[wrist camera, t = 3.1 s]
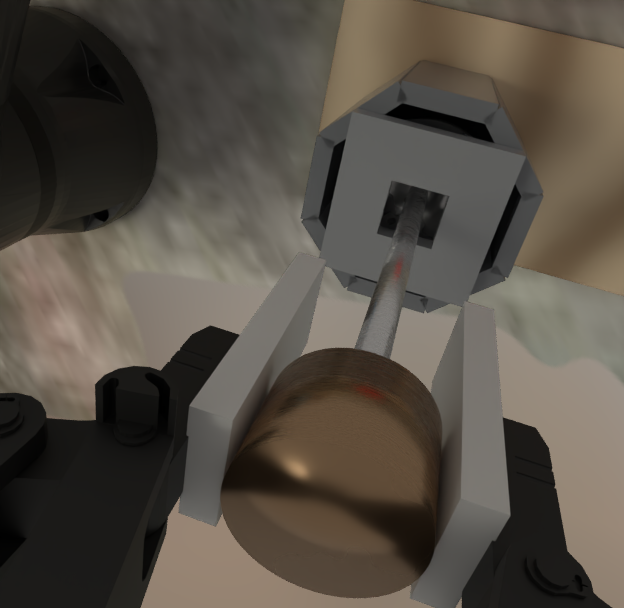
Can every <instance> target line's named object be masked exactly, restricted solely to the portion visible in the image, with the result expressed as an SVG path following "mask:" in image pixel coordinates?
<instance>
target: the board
mask: <svg viewBox="0 0 624 608" xmlns="http://www.w3.org/2000/svg"><path fill="white" fill-rule="evenodd" d="M422 60H427V61H431V62H435V63H439V64H443V65H448V66H452V67H456V68H460V69H464V70H468V71H472V72H476V73H481V74H485V75H489V76H490V78H493V80H494V82H495V85H496V87H497V89H498V91H499V93H500V95H501V97H502V99H503V101H504V103H505V105H506V107H507V109H508V111H509V113H510V116H511V118H512V120H513V122H514V124H515V126H516V128H517V130H518V132H519V134H520V136H521V138H522V141H523V143H524V146H525V148H526V150H527V153H528V155H529V158H530V160H531V163H532V165H533V167H534V170H535V172H536V175H537V177H538V180H539V182H540V184H541V187H542V189H543V196H544V197H543V199H542V201H541V204H540V206H539V208H538V211H537V213H536V215H535V217H534V220H533V222H532V224H531V226H530V229H529V231H528V233H527V236H526V238H525V240H524V242H523V245H522V247H521V249H520V252H519V254H518V256H517V258H516V261H515V263H514V265H516V266H520V267H523V268H527V269H530V270H534V271H537V272H541V273H544V274H548V275H551V276H555V277H558V278H562V279H565V280H569V281H572V282H576V283H580V284H583V285H587V286H590V287H594V288H597V289H601V290H604V291H608V292H611V293H615V294H618V295H622V296H624V48H620V47H616V46H612V45H607V44H603V43H598V42H594V41H590V40H585V39H581V38H577V37H572V36H568V35H563V34H559V33H555V32H550V31H546V30H541V29H537V28H533V27H528V26H524V25H520V24H515V23H511V22H506V21H502V20H498V19H493V18H489V17H484V16H480V15H476V14H471V13H467V12H463V11H458V10H454V9H449V8H445V7H441V6H436V5H432V4H427V3H423V2H419V1H414V0H345V1H344V6H343V11H342V16H341V21H340V26H339V31H338V36H337V41H336V47H335V52H334V57H333V62H332V67H331V72H330V77H329V82H328V87H327V92H326V97H325V102H324V107H323V113H322V118H321V123H320V128H319V132H321V131H322V130H323V129H324V128H326V127H327V126H328V125H329V124H331V123H332V122H333V121H335V120H336V119H337V118H338V117H340V116H341V115H342V114H343V113H345V112H346V111H347V110H348V109H350V108H351V107H352V106H354V105H355V104H356V103H357V102H359V101H360V100H361V99H362V98H364V97H365V96H367V95H368V94H370V93H371V92H373V91H374V90H376V89H377V88H379V87H380V86H382V85H383V84H385V83H386V82H388V81H390V80H391V79H393V78H394V77H396V76H397V75H399V74H400V73H402V72H403V71H405V70H406V69H408V68H409V67H411V66H412V65H414V64H415V63H417V62H418V61H422ZM318 135H319V133H318Z"/></svg>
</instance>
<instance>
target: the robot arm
mask: <svg viewBox="0 0 624 608" xmlns="http://www.w3.org/2000/svg"><path fill="white" fill-rule="evenodd" d="M29 4H30V0H0V251H1V250H3V249H5V248H7V247H9V246H10V245H12V244H14V243H16V242H18V241H20V240H22V239H24V238H26V237H28V236H31V235H46V234H61V233H75V232H85V231H90V230H94V229H97V228H100V227H103V226H105V225H107V224H109V223H111V222H112V221H114V220H116V219H117V218H119V217H121V216H123V215H124V214H126V213H127V212H129V211H130V210H131V209H132V208H134V207H135V206H136V205H137V204H138V203H139V201H140V200H141V199H142V197H143V196H144V194H145V193H146V191H147V189H148V187H149V185H150V182H151V180H152V177H153V174H154V170H155V165H156V157H157V135H156V127H155V122H154V117H153V113H152V109H151V106H150V103H149V100H148V97H147V95H146V92H145V90H144V88H143V86H142V84H141V82H140V80H139V78H138V76H137V74H136V73H135V71H134V69H133V68H132V66H131V65H130V63H129V62H128V60H127V59H126V58H125V57H124V55H123V54H122V53H121V51H120V50H119V49H118V48H117V47H116V46H115V45H114V44H113V43H112V42H111V41H110V40H109V39H108V38H107V37H106V36H105V35H104V34H103V33H102V32H100V31H99V30H98V29H96V28H95V27H94V26H92V25H91V24H89V23H88V22H86V21H84V20H83V19H81V18H79V17H77V16H75V15H73V14H70V13H68V12H65V11H62V10H59V9H55V8H50V7H37V6H29ZM325 263H326V260H324V259H321V258H318V257H314V256H311V255H307V254H304V253H301V252H299V253H298V255H297V256H296V257H295V259H294V260H293V261H292V263H291V264H290V266H289V267H288V268H287V270H286V271H285V273H284V274H283V275H282V277H281V278H280V280H279V281H278V282H277V284H276V285H275V287H274V288H273V289H272V291H271V292H270V294H269V295H268V296H267V298H266V299H265V301H264V302H263V304H262V305H261V306H260V308H259V309H258V310H257V312H256V313H255V315H254V316H253V317H252V319H251V320H250V322H249V323H248V325H247V326H246V327H245V329H244V330H243V331H242V333H241V334H240V335H238V334H235V333H232V332H229V331H226V330H223V329H220V328H217V327H214V326H209V327H206V328H204V329H202V330H200V331H198V332H196V333H194V334H192V335H191V336H190V338H189V339H188V340H187V341H186V342H185V343H184V344H183V346H182V347H181V348H180V351H177V352H176V354H175V355H174V356H173V357H172V358H171V360H170V362H168V363H167V364H166V365H165V366H164V367H163V369H162V370H161V371H159V370H157V369H154V368H151V367H140V366H132V367H126V368H120V369H117V370H115V371H113V372H110V373H108V374H106V375H104V376H103V377H102V378H101V379H100V380H99V381H98V382H97V383H96V384H95V397H96V420H92V421H77V420H64V419H50V418H46V412H45V409H44V407H43V405H42V403H41V402H39V401H38V400H36V399H34V398H33V397H31V396H28V395H24V394H19V393H0V608H140V607H141V605H142V601H143V598H144V596H145V593H146V590H147V587H148V584H149V581H150V579H151V576H152V573H153V570H154V567H155V564H156V561H157V558H158V555H159V552H160V549H161V546H162V544H163V541H164V538H165V535H166V529H167V520H168V516H169V514H170V512H171V510H172V509H173V507H174V505H175V504H176V502H177V501H178V499H179V497H180V504H179V513H181V514H183V515H186V516H188V517H191V518H194V519H197V520H199V521H202V522H205V523H207V524H210V525H213V526H216V525H217V523H218V521H219V519H220V517H221V515H222V509H221V502H220V491H221V486H222V482H223V479H224V477H225V475H226V472H227V471H228V469H229V467H230V465H231V463H232V461H233V459H234V457H235V455H236V454H237V452H238V450H239V448H240V446H241V444H242V442H243V440H244V438H245V437H246V435H247V433H248V431H249V429H250V427H251V425H252V423H253V422H254V420H255V418H256V416H257V414H258V412H259V410H260V408H261V406H262V405H263V403H264V401H265V399H266V397H267V395H268V393H269V391H270V389H271V388H272V386H273V384H274V382H275V380H276V378H277V377H278V376H279V374H280V373H281V371H282V370H283V369H284V368H285V367H286V366H287V365H289V364H290V363H291V362H293V361H294V360H296V359H297V358H299V357H300V356H301V354H302V352H303V350H304V348H305V346H306V343H307V340H308V336H309V332H310V328H311V323H312V319H313V314H314V311H315V306H316V301H317V298H318V293H319V289H320V285H321V281H322V276H323V272H324V268H325ZM496 342H497V341H496V329H495V316H494V309H490V308H487V307H484V306H480V305H477V304H473V303H470V302H467V301H464V304H463V306H462V309H461V311H460V314H459V316H458V319H457V321H456V324H455V326H454V329H453V331H452V334H451V336H450V339H449V342H448V344H447V346H446V349H445V351H444V354H443V356H442V359H441V361H440V364H439V366H438V369H437V371H436V374H435V376H434V379H433V381H432V389H431V395H432V396H433V398H434V400H435V402H436V404H437V406H438V409H439V412H440V415H441V420H442V447H441V462H440V477H439V492H438V507H437V522H436V537H435V548H434V554H433V557H432V560H431V562H430V564H429V566H428V568H427V569H426V571H425V572H424V573H423V574H422V575H421V576H420V577H419V578H418V579H417V580H416V581H415V582H413V583H412V584H411V592H410V598H411V599H413V600H416V601H419V602H421V603H424V604H427V605H430V606H432V607H435V608H455V607H456V605H457V604H458V602H459V600H460V599H461V597H462V608H612V607H610V606H609V605H608V604H606V603H605V602H604V601H602V600H601V599H600V598H598V597H597V596H596V595H595V594H594V593H593V588H592V584H591V581H590V579H589V577H588V576H587V574H586V573H585V571H584V569H583V567H582V566H581V565H580V564H579V563H578V562H577V561H576V560H575V559H574V558H573V557H572V555H570V553H569V552H568V551H567V546H566V541H565V535H564V530H563V525H562V519H561V513H560V508H559V502H558V497H557V491H556V489H555V488H554V487H555V480H554V475H553V472H552V463H551V458H550V452H549V448H548V446H547V445H546V443H545V442H544V440H543V439H542V437H541V436H540V434H539V432H538V431H537V429H536V428H535V427H531V426H528V425H525V424H522V423H519V422H516V421H513V420H509V419H506V418H503V416H502V405H501V392H500V380H499V367H498V354H497V343H496Z"/></svg>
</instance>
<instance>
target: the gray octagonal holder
mask: <svg viewBox="0 0 624 608" xmlns="http://www.w3.org/2000/svg"><path fill="white" fill-rule="evenodd" d="M419 117H427V118H436V119H441V120H444V121H447V122H450V123H452V124H454V125H456V126H458V127H460V128H462V129H463V130H465V131H466V132H467V133H468V134H470V135H471V136H472V137H469V136H465V135H461V134H457V133H453V132H449V131H445V130H441V129H438V128H434V127H430V126H426V125H422V124H418V123H414V122H410V121H406V119H410V118H419ZM393 181H396V182H400V183H403V184H407V185H411V186H414V187H418V188H422V189H426V190H429V191H433V192H437V193H440V194H444V195H448V197H447V200H446V203H445V206H444V209H443V212H442V215H441V218H440V221H439V224H438V227H437V230H436V232H435V235H434V238H433V241H432V240H428V239H425V238H421V237H418V240H417V244H416V248H415V253H414V257H413V261H412V266H411V270H410V274H409V278H408V283H407V287H406V291H405V296H404V300H403V304H402V307H405V308H408V309H411V310H415V311H418V312H421V313H424V311H425V310H426V312H427V313H429V312H431V311H433V310H436V309H438V308H441V307H443V306H445V305H448V304H450V303H451V304H454V305H457V306H461V307H462V306H463V304H464V301H468V299H469V296H470V295H472V294H474V293H476V292H479V291H481V290H483V289H486V288H488V287H491V286H493V285H495V284H498V283H500V282H503V281H505V277H507V278H508V277H509V274H510V272H511V270H512V267H513V265H514V263H515V261H516V258H517V256H518V254H519V252H520V249H521V247H522V245H523V242H524V240H525V238H526V236H527V233H528V231H529V229H530V226H531V224H532V222H533V220H534V217H535V215H536V213H537V211H538V208H539V206H540V204H541V201H542V199H543V197H544V196H543V189H542V187H541V184H540V182H539V180H538V177H537V175H536V172H535V170H534V167H533V165H532V163H531V160H530V158H529V155H528V153H527V150H526V148H525V146H524V143H523V141H522V138H521V136H520V134H519V132H518V130H517V128H516V126H515V124H514V122H513V120H512V118H511V116H510V113H509V111H508V109H507V107H506V105H505V103H504V101H503V99H502V97H501V95H500V93H499V91H498V89H497V87H496V85H495V82H494V80H493V78H490V76H489V75H485V74H481V73H476V72H472V71H468V70H464V69H460V68H456V67H452V66H448V65H443V64H439V63H435V62H431V61H427V60H422V61H418V62H417V63H415V64H414V65H412V66H411V67H409V68H408V69H406V70H405V71H403V72H402V73H400V74H399V75H397V76H396V77H394V78H393V79H391V80H390V81H388V82H386V83H385V84H383V85H382V86H380V87H379V88H377V89H376V90H374V91H373V92H371V93H370V94H368V95H367V96H365V97H364V98H362V99H361V100H360V101H359V102H357V103H356V104H355V105H354V106H352V107H351V108H350V109H348V110H347V111H346V112H345V113H343V114H342V115H341V116H340V117H338V118H337V119H336V120H335V121H333V122H332V123H331V124H329V125H328V126H327V127H326V128H324V129H323V130H322V131H321V132H319V135H317V138H316V143H315V148H314V153H313V158H312V163H311V169H310V174H309V179H308V184H307V189H306V194H305V199H304V204H303V209H302V215H301V219H303V220H302V223H303V225H304V226H305V228H306V230H307V231H308V233H309V234H310V236H311V237H312V239H313V240H314V242H315V244H316V245H317V247H318V248H319V250H320V251H321V253H320V257H319V258H321V259H324V260H326V263H325V266H326V267H329V268H332V270H333V271H334V273H335V275H336V276H337V278H338V279H339V281H340V282H341V284H342V285H343V287H344V288H345V287H347V286H348V288H347V290H348V291H352V292H355V293H358V294H362V295H365V296H368V297H372V296H373V293H374V290H375V288H376V285H377V282H378V279H379V276H380V273H381V270H382V267H383V264H384V261H385V259H386V256H387V253H388V250H389V247H390V244H391V241H392V238H393V235H394V233H395V230H393V229H389V228H386V227H382V226H380V224H381V221H382V217H383V214H384V210H385V206H386V203H387V199H388V196H389V192H390V189H391V185H392V182H393ZM371 299H372V298H371Z"/></svg>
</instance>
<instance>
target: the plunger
mask: <svg viewBox="0 0 624 608" xmlns="http://www.w3.org/2000/svg"><path fill="white" fill-rule="evenodd" d="M406 121H410V122H414V123H418V124H422V125H426V126H430V127H434V128H438V129H441V130H445V131H449V132H453V133H457V134H461V135H465V136H469V137H472V136H471V135H470V134H468V133H467V132H466V131H465V130H463V129H462V128H460V127H458V126H456V125H454V124H452V123H450V122H447V121H444V120H441V119H436V118H427V117H419V118H410V119H406ZM447 197H448V195H444V194H440V193H437V192H433V191H429V190H426V189H422V188H418V187H414V186H411V185H407V184H403V183H400V182H396V181H393V182H392V185H391V189H390V192H389V196H388V199H387V203H386V206H385V210H384V214H383V217H382V221H381V224H380V226H382V227H386V228H389V229H393V230H395V233H394V235H393V238H392V241H391V244H390V247H389V250H388V253H387V256H386V259H385V261H384V264H383V267H382V270H381V273H380V276H379V279H378V282H377V285H376V288H375V290H374V293H373V296H372V299H371V302H370V305H369V308H368V311H367V314H366V317H365V319H364V322H363V325H362V328H361V331H360V334H359V337H358V340H357V343H356V346H355V348H354V349H353V348H329V349H322V350H318V351H314V352H311V353H308V354H305V355H303V356H301V357H299V358H297V359H296V360H294V361H293V362H291V363H290V364H289V365H287V366H286V367H285V368H284V369H283V370H282V371H281V373H280V374H279V376H278V377H277V378H276V380H275V382H274V384H273V386H272V388H271V389H270V391H269V393H268V395H267V397H266V399H265V401H264V403H263V405H262V406H261V408H260V410H259V412H258V414H257V416H256V418H255V420H254V422H253V423H252V425H251V427H250V429H249V431H248V433H247V435H246V437H245V438H244V440H243V442H242V444H241V446H240V448H239V450H238V452H237V454H236V455H235V457H234V459H233V461H232V463H231V465H230V467H229V469H228V471H227V472H226V475H225V477H224V479H223V482H222V486H221V491H220V502H221V509H222V513H223V516H224V519H225V521H226V524H227V526H228V528H229V529H230V531H231V533H232V535H233V536H234V538H235V539H236V540H237V542H238V543H239V544H240V546H241V547H242V548H243V549H244V550H245V551H246V552H247V553H248V554H249V555H250V556H251V557H252V558H253V559H255V560H256V561H257V562H258V563H259V564H261V565H262V566H263V567H265V568H266V569H267V570H269V571H271V572H272V573H274V574H275V575H277V576H279V577H281V578H282V579H285V580H286V581H288V582H290V583H293V584H295V585H297V586H300V587H302V588H305V589H308V590H311V591H314V592H318V593H322V594H326V595H331V596H337V597H346V598H370V597H378V596H383V595H387V594H391V593H394V592H396V591H399V590H401V589H403V588H405V587H407V586H409V585H411V584H412V583H413V582H415V581H416V580H417V579H418V578H419V577H420V576H421V575H422V574H423V573H424V572H425V571H426V569H427V568H428V566H429V564H430V562H431V560H432V557H433V554H434V548H435V537H436V522H437V507H438V492H439V477H440V462H441V447H442V420H441V415H440V412H439V409H438V406H437V404H436V402H435V400H434V398H433V396H432V395H431V393H430V392H429V391H428V389H427V388H426V387H425V385H423V383H422V382H421V381H420V380H419V379H418V378H417V377H416V376H415V375H413V374H412V373H411V372H410V371H409V370H407V369H406V368H404V367H403V366H401V365H400V364H398V363H396V362H394V361H392V360H390V356H391V351H392V347H393V343H394V339H395V334H396V330H397V326H398V321H399V317H400V313H401V309H402V304H403V300H404V296H405V291H406V287H407V283H408V278H409V274H410V270H411V266H412V261H413V257H414V253H415V248H416V244H417V240H418V237H421V238H425V239H428V240H432V241H433V238H434V235H435V232H436V230H437V227H438V224H439V221H440V218H441V215H442V212H443V209H444V206H445V203H446V200H447Z"/></svg>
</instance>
